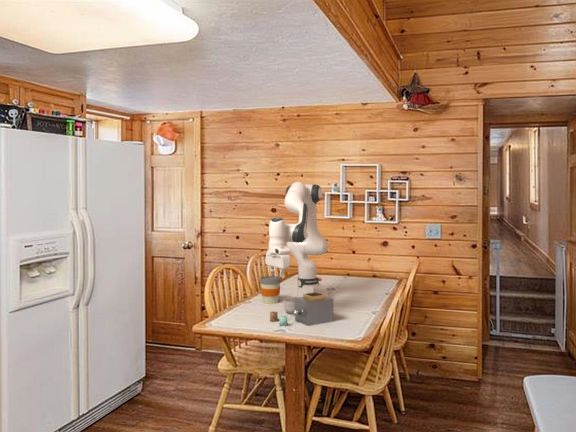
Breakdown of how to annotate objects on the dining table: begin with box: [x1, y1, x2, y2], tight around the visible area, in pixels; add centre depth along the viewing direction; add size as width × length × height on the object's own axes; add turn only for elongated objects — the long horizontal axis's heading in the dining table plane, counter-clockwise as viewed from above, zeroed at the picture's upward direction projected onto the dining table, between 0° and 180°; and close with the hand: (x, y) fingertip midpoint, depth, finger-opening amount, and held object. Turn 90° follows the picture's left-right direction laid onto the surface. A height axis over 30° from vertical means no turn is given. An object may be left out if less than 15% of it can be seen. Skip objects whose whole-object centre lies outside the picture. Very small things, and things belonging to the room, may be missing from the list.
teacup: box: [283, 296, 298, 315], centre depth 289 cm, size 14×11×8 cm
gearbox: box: [292, 292, 334, 327], centre depth 270 cm, size 19×12×14 cm, turn 120°
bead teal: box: [278, 315, 288, 327], centre depth 263 cm, size 4×4×4 cm
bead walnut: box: [269, 311, 279, 323], centre depth 272 cm, size 4×4×4 cm
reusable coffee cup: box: [259, 275, 282, 305], centre depth 312 cm, size 13×13×15 cm
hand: (276, 275), depth 270 cm, fingers open, 8 cm apart
